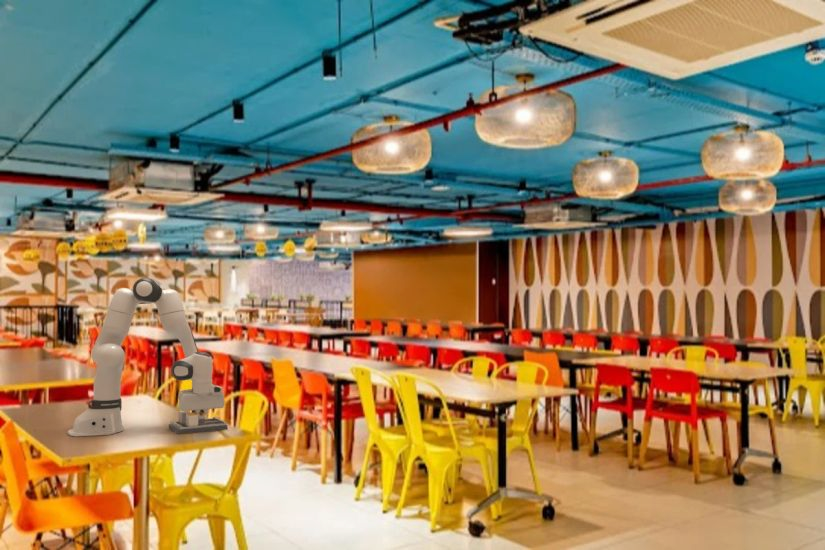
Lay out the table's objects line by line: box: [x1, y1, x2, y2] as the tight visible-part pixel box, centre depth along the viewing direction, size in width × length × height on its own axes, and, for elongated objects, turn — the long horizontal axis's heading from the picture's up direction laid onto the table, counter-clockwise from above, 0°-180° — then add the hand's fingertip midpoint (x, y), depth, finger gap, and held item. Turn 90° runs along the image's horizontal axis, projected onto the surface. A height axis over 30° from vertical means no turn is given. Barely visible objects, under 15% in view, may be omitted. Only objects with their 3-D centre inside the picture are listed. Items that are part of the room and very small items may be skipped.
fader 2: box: [186, 412, 198, 427], centre depth 327 cm, size 4×5×5 cm
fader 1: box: [178, 411, 191, 424], centre depth 333 cm, size 4×5×5 cm
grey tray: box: [168, 416, 228, 435], centre depth 332 cm, size 22×15×3 cm
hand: (201, 419), depth 329 cm, fingers closed
